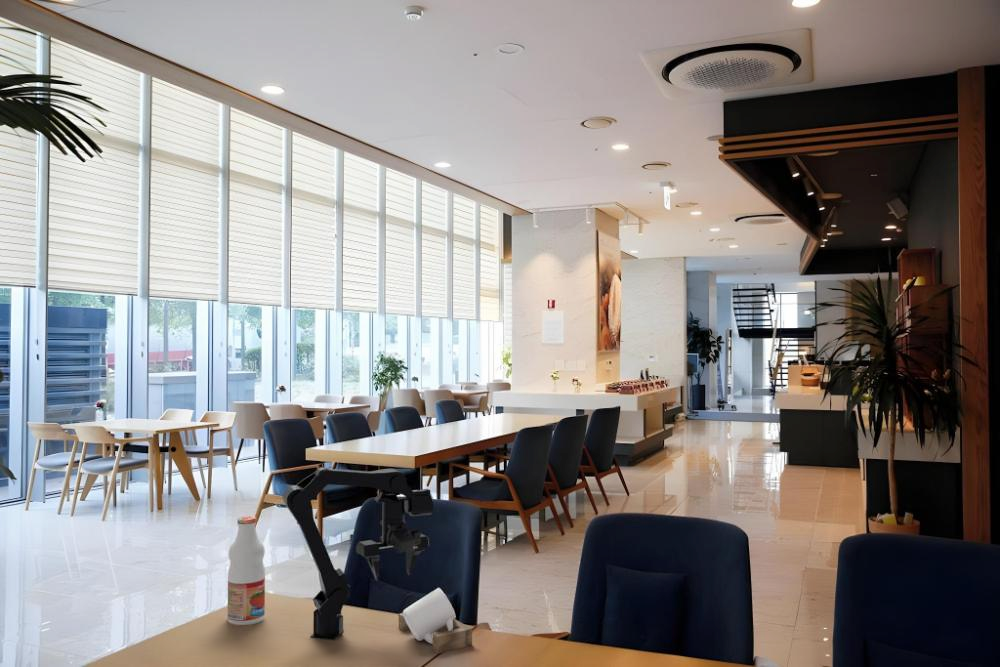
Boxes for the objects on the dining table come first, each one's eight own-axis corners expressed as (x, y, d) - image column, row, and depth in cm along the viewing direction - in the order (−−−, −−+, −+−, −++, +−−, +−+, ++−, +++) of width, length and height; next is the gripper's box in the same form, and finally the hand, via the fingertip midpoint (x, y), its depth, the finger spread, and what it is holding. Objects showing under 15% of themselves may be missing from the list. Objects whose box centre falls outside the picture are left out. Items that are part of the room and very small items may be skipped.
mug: (425, 648, 186) (463, 622, 190) (400, 606, 192) (437, 582, 196) (427, 658, 193) (463, 633, 197) (402, 617, 199) (438, 594, 203)
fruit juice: (231, 618, 210) (233, 514, 211) (267, 617, 211) (268, 514, 212) (223, 631, 201) (224, 522, 202) (260, 629, 202) (261, 521, 203)
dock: (436, 653, 186) (436, 636, 186) (398, 629, 202) (398, 613, 203) (472, 644, 192) (472, 628, 192) (432, 621, 208) (432, 606, 208)
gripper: (373, 528, 192) (373, 591, 192) (439, 519, 203) (439, 579, 202) (355, 520, 202) (355, 580, 201) (419, 511, 212) (419, 569, 212)
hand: (393, 577), depth 204 cm, fingers open, 9 cm apart
